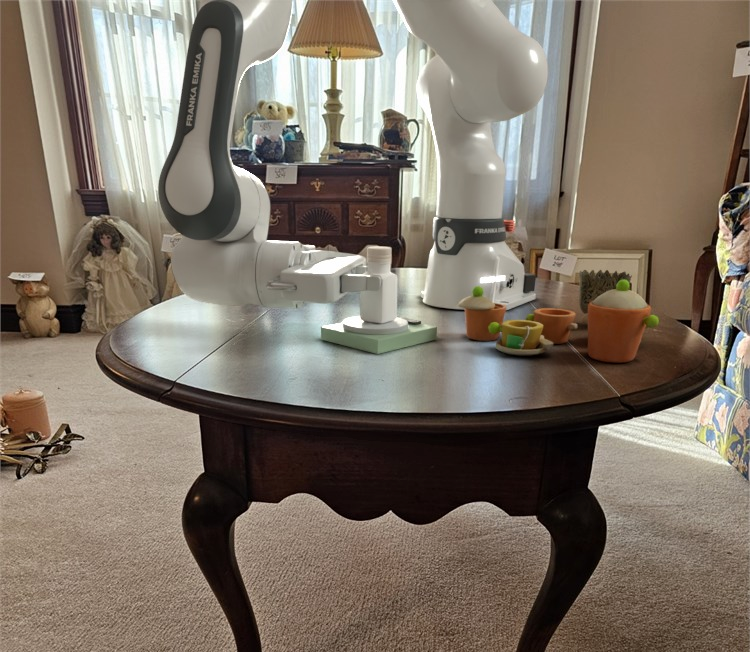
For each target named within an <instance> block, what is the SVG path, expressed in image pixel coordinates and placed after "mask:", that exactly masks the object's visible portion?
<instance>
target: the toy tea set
mask: <svg viewBox="0 0 750 652" xmlns="http://www.w3.org/2000/svg"><path fill="white" fill-rule="evenodd" d="M616 287H617V289H614V290H610V291H607V292H605V293H603V294H601V295H600V296H598V297H597V298H596V299H595V300H594V301H592V302H590V303H589V305H588V313H587V314H584V313H583V315H582V317H581V322H582V323H584V324H585V325H586V324H587V325H588V326H587V325H586V326H587V355H588V357H589V358H591V359H592V360H595V361H599V362H603V363H604V362H605V363H614V364H622V363H623V364H624V363H628V362H632V361H633V360H634V359H635V358H636V356H637V352H638V349H639V346H640V344H641V342H642V338H643V335H644V333H645V330H647V329H649V328H651V329H653V328H655V327H657V326H658V325H659V321H660V320H659V317H658V316H656V314H651V312H652V308H651V305H649V304H648V303H647V302H646V301H645V299H644V298H643V296H641V295H640V294H638V293H637V292H636V291H633V290H630V283H629V282H628V281H627V280H620V281H619V282H618V283H617V286H616ZM472 294H473V296H469V297H467V298H465V299H463V300H462V301H461V302H460V303H459V304H458V305H459V307H461V308H465V310H464V317H465V318H464V319H465V330H466V331H465V332H466V336H467V338H468V339H470V340H474V341H481V342H490V341H491V342H492V341H495V340H497V339H499V337H500V335H501V339H500V340H497V341H496V342H495V349H497V350H498V351H500V352H502V353H505V354H507V355H511V356H519V357H530V356H531V357H532V356H538V355H540V354H543V353H545V352H546V351H547V350H549V349H553V348H554V345H562V344H565V343H567V342H568V341H569V338H570V334H571V332H572V331H575V330H577V329H578V323H576V322H574V321H575V318H576V313H575V311H573V310H569V309H564V308H563V309H562V308H553V307H552V308H551V307H544V308H537V309H534V310H533V313H528V314H527V315H526V317H525V319H507V320H504V319H505V315H506V311H507V310H506V306H505V305H502V304H498V303H493V302H492V301H491V300H490V299H488V298H486V297H484V296H482V295H483V289H482V288H481V287H480V286H476V287H475V288H474V289H473V291H472Z"/></svg>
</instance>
